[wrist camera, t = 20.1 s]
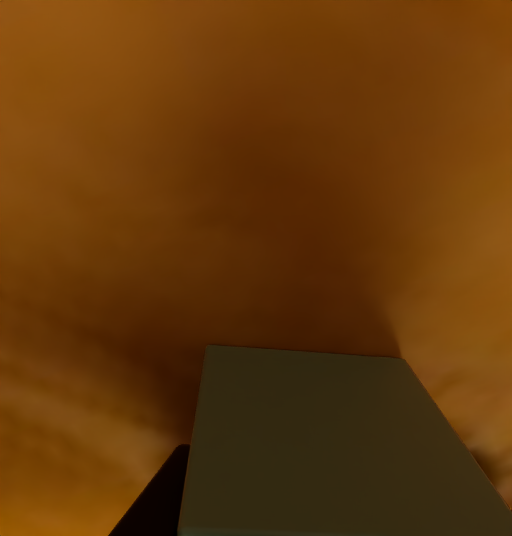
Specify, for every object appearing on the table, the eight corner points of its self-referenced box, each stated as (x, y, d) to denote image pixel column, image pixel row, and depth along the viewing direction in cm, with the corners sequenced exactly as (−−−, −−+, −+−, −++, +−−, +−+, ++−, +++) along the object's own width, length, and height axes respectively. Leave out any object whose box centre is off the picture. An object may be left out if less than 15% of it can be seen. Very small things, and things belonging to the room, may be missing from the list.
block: (405, 356, 9) (540, 547, 5) (368, 507, 11) (450, 753, 6) (206, 342, 9) (176, 531, 5) (194, 500, 10) (165, 751, 6)
